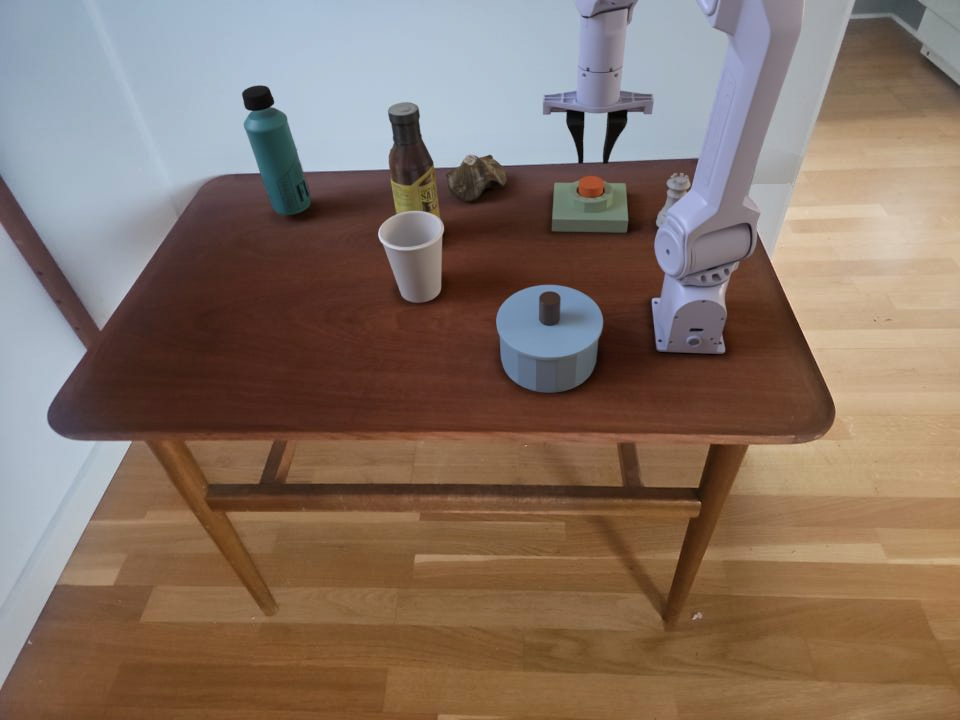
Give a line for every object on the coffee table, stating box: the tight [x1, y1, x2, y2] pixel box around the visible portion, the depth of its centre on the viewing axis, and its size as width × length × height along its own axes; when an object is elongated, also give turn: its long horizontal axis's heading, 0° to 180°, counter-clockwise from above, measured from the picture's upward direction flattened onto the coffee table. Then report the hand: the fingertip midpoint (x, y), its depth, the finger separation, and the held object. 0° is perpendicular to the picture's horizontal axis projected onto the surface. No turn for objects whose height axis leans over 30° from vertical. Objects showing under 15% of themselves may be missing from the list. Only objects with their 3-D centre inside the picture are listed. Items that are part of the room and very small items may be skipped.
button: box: [578, 175, 604, 198], centre depth 96 cm, size 4×4×2 cm
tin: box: [499, 336, 599, 394], centre depth 77 cm, size 11×11×6 cm
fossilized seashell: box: [445, 154, 508, 202], centre depth 103 cm, size 8×7×10 cm
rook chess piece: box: [655, 172, 692, 228], centre depth 93 cm, size 4×4×8 cm
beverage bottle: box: [241, 84, 312, 216], centre depth 97 cm, size 6×7×20 cm
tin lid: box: [495, 284, 604, 360], centre depth 73 cm, size 12×12×4 cm
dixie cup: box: [377, 211, 445, 304], centre depth 85 cm, size 8×8×10 cm
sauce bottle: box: [387, 101, 441, 220], centre depth 90 cm, size 6×6×20 cm
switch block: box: [551, 179, 629, 234], centre depth 98 cm, size 10×11×4 cm
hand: (592, 160), depth 93 cm, fingers open, 3 cm apart
